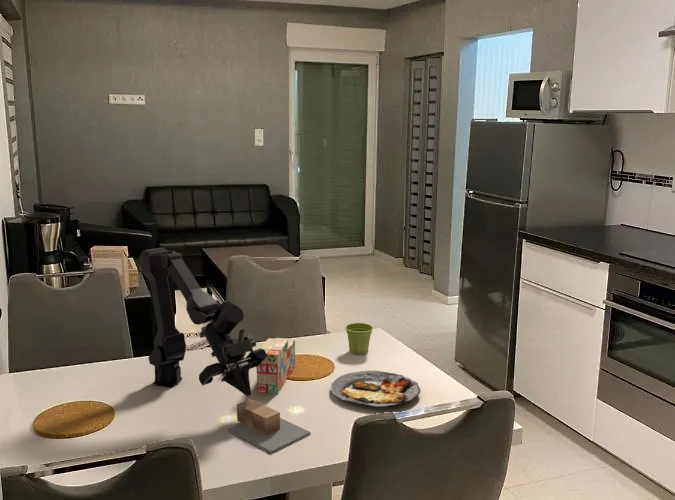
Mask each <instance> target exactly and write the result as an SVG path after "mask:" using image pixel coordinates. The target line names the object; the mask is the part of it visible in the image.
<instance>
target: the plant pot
mask: <svg viewBox="0 0 675 500" xmlns="http://www.w3.org/2000/svg"><path fill="white" fill-rule="evenodd" d="M344 329H345V331H346V332H345V333H346V334H347V341H348V347H349V349H348V350H349V352H350V354H353V355H357V356H358V355H365V354H367V353H368V352H369V346H370V339H371V336H372V335H371V334H372V333H373V330H374V325H372V324H369V323H363V322H353V323H348V324H346V325H345V327H344Z"/></svg>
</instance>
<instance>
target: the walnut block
mask: <svg viewBox="0 0 675 500" xmlns="http://www.w3.org/2000/svg"><path fill="white" fill-rule="evenodd" d="M236 414H237V415H236V419H237V422H238V423H242V424H244V425H246V426H248V427H250V428H252V429H254V430H256V431H258V432H260V433H262V434H264V435H269V434H271V433H273V432H275V431H277V430H279V429H280V418H281V412H280V411H279V410H275V409H273V408H271V407H269V406H267V405H264V404H263V403H260V402H258V401H256V400H254V399H252V398H250V399H247V400H245V401H242V402H240V403H237V404H236Z"/></svg>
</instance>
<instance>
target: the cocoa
mask: <svg viewBox="0 0 675 500" xmlns="http://www.w3.org/2000/svg"><path fill="white" fill-rule="evenodd" d="M244 334H245V328H242V329H240V330H239V332H238V338H237V341H238V342H242V341H243V338H244ZM243 358H245V356H243V357H242V359H243Z"/></svg>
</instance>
